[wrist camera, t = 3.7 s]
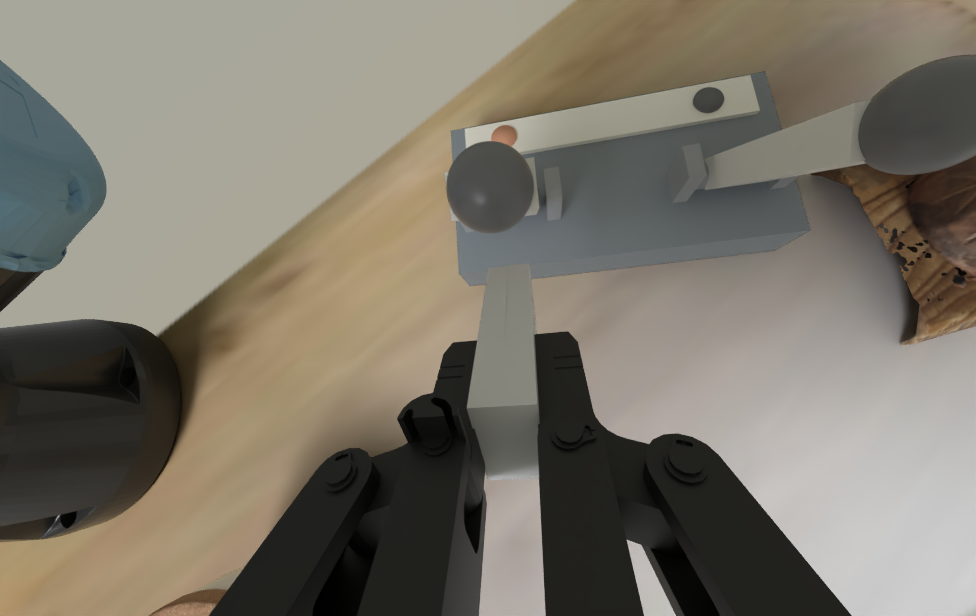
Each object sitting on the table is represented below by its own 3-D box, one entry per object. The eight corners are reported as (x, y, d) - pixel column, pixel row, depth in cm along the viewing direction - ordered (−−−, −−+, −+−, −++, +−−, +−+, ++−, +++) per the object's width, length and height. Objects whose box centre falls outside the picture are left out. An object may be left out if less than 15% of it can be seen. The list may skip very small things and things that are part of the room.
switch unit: (774, 250, 21) (852, 206, 16) (469, 286, 24) (446, 259, 19) (738, 109, 23) (795, 27, 18) (461, 158, 26) (439, 100, 21)
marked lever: (542, 224, 21) (553, 225, 10) (484, 232, 22) (431, 242, 10) (537, 175, 20) (543, 118, 9) (477, 185, 21) (414, 142, 10)
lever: (760, 193, 19) (1079, 152, 8) (691, 203, 20) (897, 178, 9) (762, 139, 19) (1109, 12, 7) (690, 151, 19) (912, 50, 8)
